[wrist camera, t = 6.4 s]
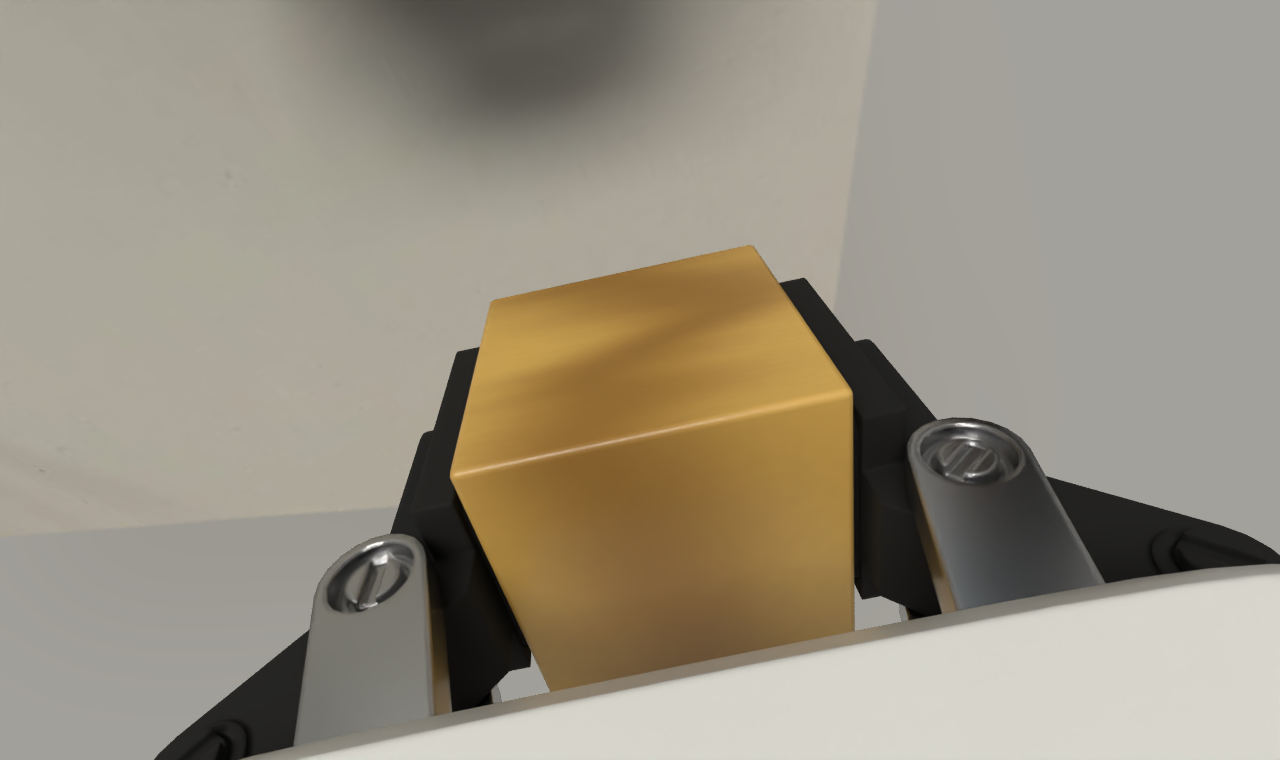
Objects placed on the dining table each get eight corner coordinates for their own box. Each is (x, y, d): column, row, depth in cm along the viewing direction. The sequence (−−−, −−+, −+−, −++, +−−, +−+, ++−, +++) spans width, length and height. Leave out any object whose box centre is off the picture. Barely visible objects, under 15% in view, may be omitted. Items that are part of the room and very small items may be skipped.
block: (753, 242, 10) (856, 390, 7) (773, 449, 13) (857, 642, 9) (489, 298, 10) (444, 476, 7) (557, 493, 13) (552, 704, 9)
